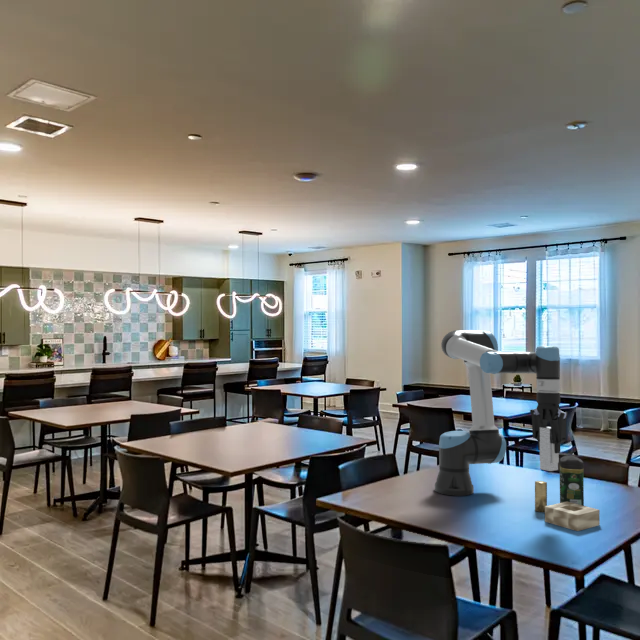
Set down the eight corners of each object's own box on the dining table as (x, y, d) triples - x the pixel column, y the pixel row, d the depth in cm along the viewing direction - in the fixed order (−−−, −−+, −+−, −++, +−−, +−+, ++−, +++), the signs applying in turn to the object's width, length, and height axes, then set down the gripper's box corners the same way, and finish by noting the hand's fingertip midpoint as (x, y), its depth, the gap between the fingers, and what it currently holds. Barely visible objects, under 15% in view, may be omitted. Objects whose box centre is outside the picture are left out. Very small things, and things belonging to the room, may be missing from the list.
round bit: (532, 510, 218) (532, 481, 218) (539, 508, 220) (539, 480, 221) (542, 513, 215) (542, 484, 215) (549, 511, 217) (549, 482, 217)
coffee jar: (558, 504, 226) (558, 453, 227) (581, 506, 224) (581, 454, 225) (561, 511, 217) (561, 458, 218) (585, 513, 215) (585, 459, 216)
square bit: (540, 469, 207) (539, 427, 208) (547, 468, 210) (547, 426, 210) (550, 471, 204) (549, 428, 205) (558, 469, 206) (557, 427, 207)
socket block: (544, 521, 204) (544, 506, 205) (566, 516, 211) (566, 501, 211) (577, 531, 194) (577, 515, 195) (599, 525, 201) (599, 509, 201)
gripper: (520, 390, 213) (521, 458, 212) (563, 393, 199) (564, 466, 198) (534, 390, 217) (535, 457, 216) (577, 393, 203) (578, 464, 202)
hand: (549, 461), depth 207 cm, fingers closed on square bit, 4 cm apart
